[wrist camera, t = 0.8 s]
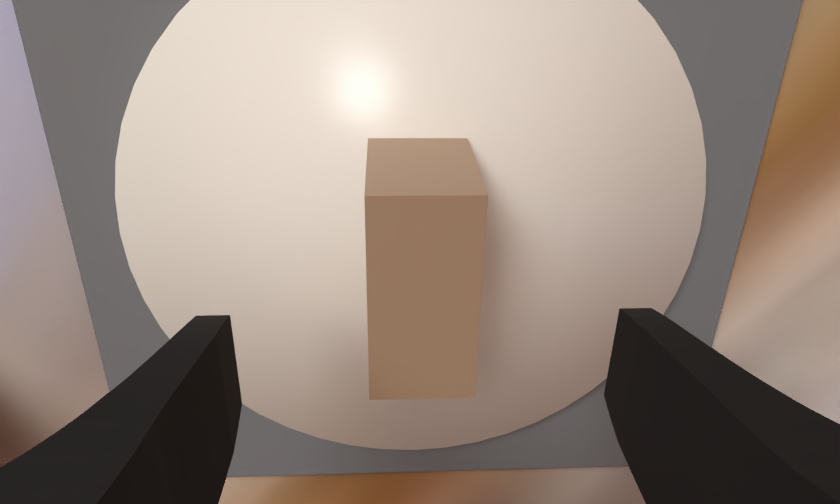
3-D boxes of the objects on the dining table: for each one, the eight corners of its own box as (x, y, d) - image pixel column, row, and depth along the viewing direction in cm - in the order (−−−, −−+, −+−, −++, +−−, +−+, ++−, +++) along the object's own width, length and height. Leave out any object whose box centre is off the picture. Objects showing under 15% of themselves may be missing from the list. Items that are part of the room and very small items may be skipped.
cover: (759, -90, 15) (885, -87, 11) (644, 431, 22) (698, 540, 18) (62, -102, 14) (-55, -104, 10) (172, 442, 21) (126, 558, 17)
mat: (835, -167, 15) (846, -169, 14) (676, 455, 23) (680, 464, 22) (-24, -187, 14) (-36, -190, 13) (135, 470, 22) (131, 479, 22)
